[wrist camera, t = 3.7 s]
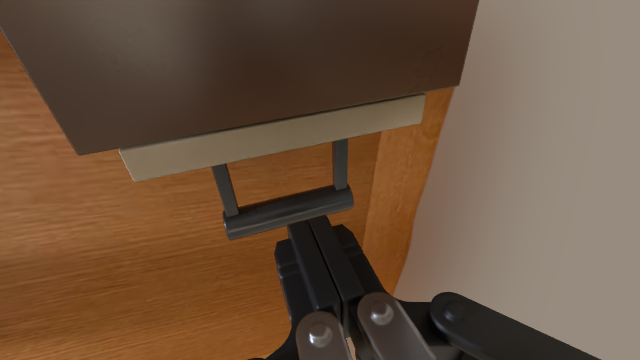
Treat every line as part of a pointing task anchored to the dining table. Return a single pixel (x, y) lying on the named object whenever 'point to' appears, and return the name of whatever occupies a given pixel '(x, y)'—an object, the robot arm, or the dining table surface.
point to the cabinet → (226, 60)
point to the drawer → (269, 140)
